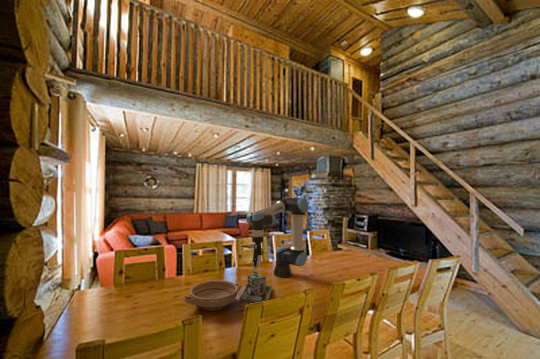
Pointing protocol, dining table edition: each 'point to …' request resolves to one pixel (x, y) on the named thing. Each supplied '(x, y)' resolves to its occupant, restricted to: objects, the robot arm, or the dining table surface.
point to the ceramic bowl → (213, 294)
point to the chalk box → (256, 284)
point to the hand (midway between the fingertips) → (257, 268)
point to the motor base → (248, 298)
